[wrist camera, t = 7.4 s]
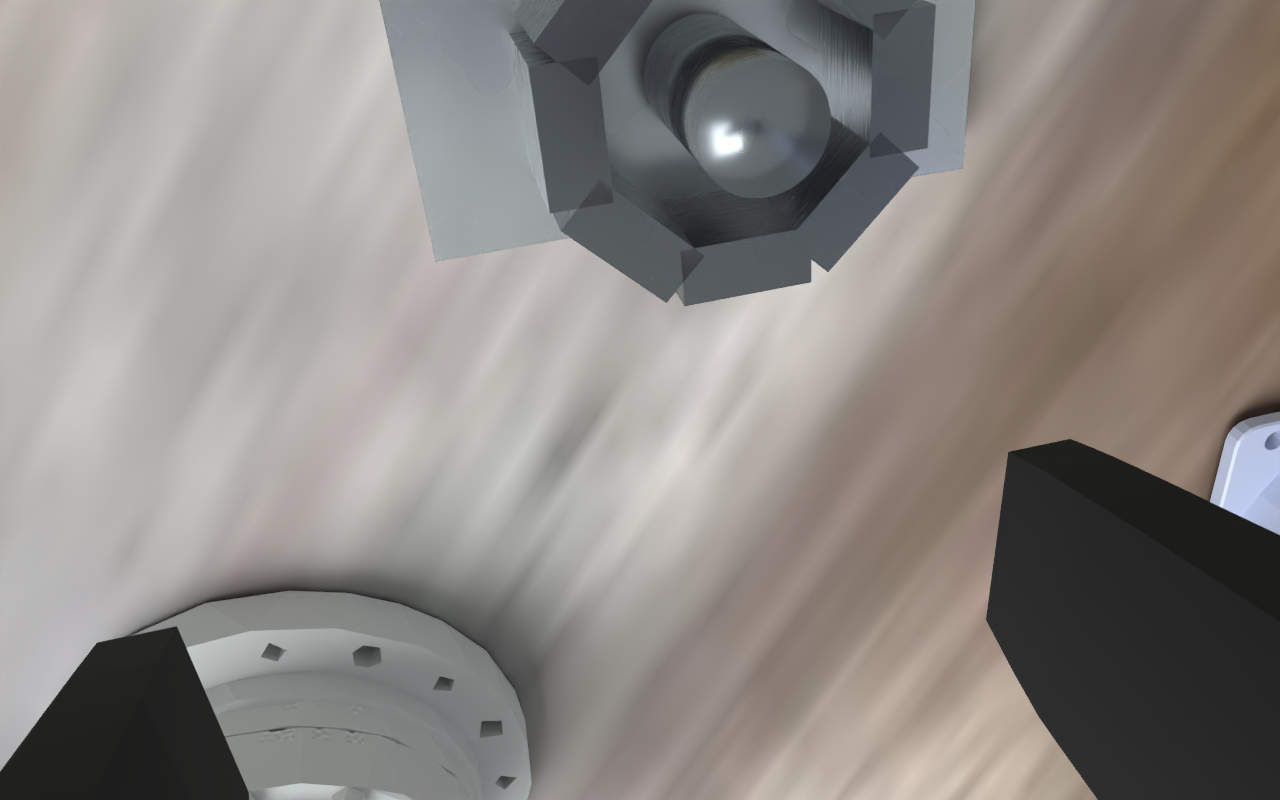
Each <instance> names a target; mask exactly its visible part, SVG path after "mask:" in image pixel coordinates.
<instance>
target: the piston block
mask: <svg viewBox="0 0 1280 800" xmlns="http://www.w3.org/2000/svg"><path fill="white" fill-rule="evenodd" d="M379 1H380V5H381V10H382V15H383V19H384V24H385V29H386V33H387V38H388V43H389V47H390V52H391V57H392V61H393V66H394V70H395V75H396V80H397V84H398V89H399V94H400V98H401V103H402V108H403V112H404V117H405V122H406V126H407V131H408V135H409V140H410V145H411V149H412V154H413V159H414V163H415V168H416V173H417V177H418V182H419V187H420V191H421V196H422V201H423V205H424V210H425V214H426V219H427V224H428V228H429V233H430V238H431V242H432V247H433V252H434V256H435V261H436V262H437V261H443V260H449V259H454V258H460V257H466V256H471V255H477V254H482V253H488V252H494V251H499V250H505V249H511V248H516V247H522V246H527V245H533V244H539V243H544V242H550V241H556V240H561V239H567V238H572V239H573V240H575V241H576V242H578V243H579V244H581V245H582V246H584V247H585V248H587V249H588V250H589V251H591V252H592V253H594V254H595V255H597V256H598V257H600V258H601V259H603V260H604V261H606V262H607V263H609V264H610V265H612V266H613V267H614V268H616V269H617V270H619V271H620V272H622V273H623V274H625V275H626V276H628V277H629V278H631V279H632V280H634V281H635V282H637V283H638V284H640V285H641V286H642V287H644V288H645V289H647V290H648V291H650V292H651V293H653V294H654V295H656V296H657V297H659V298H660V299H662V300H663V301H665V302H666V303H667V302H668V300H669V299H670V298H671V297H672V295H673V294H674V293H675V292H676V293H677V294H678V296H679V298H680V299H681V301H682V303H683V304H684V306H688V305H693V304H699V303H704V302H709V301H714V300H720V299H725V298H730V297H735V296H741V295H746V294H751V293H756V292H762V291H767V290H772V289H777V288H783V287H788V286H793V285H798V284H804V283H809V282H811V259H812V260H813V261H814V262H816V263H817V264H818V265H820V266H821V267H822V268H823V269H825V270H826V271H827V272H829V271H830V269H831V268H832V267H833V266H834V265H835V264H836V263H837V261H838V260H839V259H840V258H841V257H842V256H843V255H844V253H845V252H846V251H847V250H848V249H849V248H850V247H851V245H852V244H853V243H854V242H855V241H856V240H857V239H858V237H859V236H860V235H861V234H862V233H863V232H864V231H865V229H866V228H867V227H868V226H869V225H870V224H871V223H872V221H873V220H874V219H875V218H876V217H877V216H878V214H879V213H880V212H881V211H882V210H883V209H884V208H885V206H886V205H887V204H888V203H889V202H890V201H891V200H892V198H893V197H894V196H895V195H896V194H897V193H898V192H899V190H900V189H901V188H902V187H903V186H904V185H905V184H906V182H907V181H908V180H909V179H910V178H911V177H916V176H921V175H927V174H933V173H938V172H944V171H950V170H955V169H961V168H963V158H964V145H965V132H966V119H967V105H968V92H969V79H970V66H971V53H972V40H973V27H974V14H975V1H976V0H379Z"/></svg>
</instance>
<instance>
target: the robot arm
mask: <svg viewBox="0 0 1280 800" xmlns="http://www.w3.org/2000/svg"><path fill="white" fill-rule="evenodd" d="M986 620H987V622H988V624H989V626H990V628H991V630H992V632H993V634H994V636H995V638H996V639H997V641H998V643H999V645H1000V647H1001V649H1002V651H1003V653H1004V655H1005V657H1006V659H1007V660H1008V662H1009V664H1010V666H1011V668H1012V670H1013V672H1014V674H1015V675H1016V677H1017V679H1018V681H1019V683H1020V684H1021V686H1022V688H1023V690H1024V691H1025V693H1026V695H1027V697H1028V698H1029V700H1030V702H1031V704H1032V705H1033V707H1034V709H1035V711H1036V712H1037V714H1038V716H1039V718H1040V719H1041V720H1042V722H1043V723H1044V725H1045V726H1046V728H1047V729H1048V730H1049V732H1050V733H1051V735H1052V736H1053V738H1054V739H1055V740H1056V742H1057V743H1058V745H1059V746H1060V747H1061V749H1062V750H1063V752H1064V753H1065V754H1066V756H1067V757H1068V759H1069V760H1070V761H1071V763H1072V764H1073V766H1074V767H1075V768H1076V770H1077V771H1078V773H1079V774H1080V775H1081V777H1082V778H1083V780H1084V781H1085V782H1086V784H1087V785H1088V787H1089V788H1090V789H1091V791H1092V792H1093V794H1094V795H1095V796H1096V798H1097V799H1098V800H1280V412H1276V413H1271V414H1267V415H1262V416H1258V417H1253V418H1249V419H1246V420H1244V421H1241V422H1239V423H1238V424H1237V425H1235V426H1234V427H1233V428H1232V429H1231V431H1230V432H1229V433H1228V435H1227V438H1226V440H1225V444H1224V448H1223V452H1222V456H1221V460H1220V464H1219V468H1218V472H1217V476H1216V480H1215V484H1214V487H1213V491H1212V495H1211V499H1210V502H1209V501H1207V500H1205V499H1203V498H1201V497H1198V496H1196V495H1194V494H1192V493H1190V492H1188V491H1186V490H1184V489H1182V488H1179V487H1177V486H1175V485H1173V484H1171V483H1169V482H1167V481H1165V480H1163V479H1160V478H1158V477H1156V476H1154V475H1152V474H1150V473H1148V472H1145V471H1143V470H1141V469H1139V468H1137V467H1135V466H1133V465H1130V464H1128V463H1126V462H1124V461H1121V460H1119V459H1117V458H1115V457H1113V456H1110V455H1108V454H1106V453H1103V452H1101V451H1099V450H1096V449H1094V448H1092V447H1089V446H1087V445H1084V444H1082V443H1079V442H1077V441H1074V440H1071V439H1068V440H1063V441H1058V442H1054V443H1049V444H1044V445H1039V446H1035V447H1030V448H1025V449H1020V450H1016V451H1011V452H1008V459H1007V467H1006V474H1005V482H1004V489H1003V497H1002V504H1001V512H1000V519H999V527H998V534H997V542H996V549H995V557H994V564H993V572H992V580H991V587H990V595H989V602H988V610H987V617H986ZM0 800H249V792H248V789H247V787H246V785H245V782H244V780H243V778H242V775H241V773H240V771H239V769H238V766H237V764H236V762H235V759H234V757H233V755H232V752H231V750H230V748H229V745H228V743H227V741H226V738H225V736H224V734H223V732H222V729H221V727H220V725H219V722H218V720H217V718H216V715H215V713H214V711H213V708H212V706H211V704H210V701H209V699H208V697H207V695H206V692H205V690H204V688H203V685H202V683H201V681H200V678H199V676H198V674H197V671H196V669H195V667H194V664H193V662H192V660H191V658H190V655H189V653H188V651H187V648H186V646H185V644H184V641H183V639H182V637H181V634H180V632H179V630H178V627H177V626H175V627H170V628H166V629H161V630H156V631H151V632H146V633H142V634H137V635H132V636H127V637H123V638H118V639H113V640H108V641H104V642H99V643H97V644H96V645H95V646H94V647H93V649H92V650H91V651H90V653H89V654H88V655H87V656H86V658H85V659H84V660H83V662H82V663H81V664H80V666H79V667H78V668H77V669H76V671H75V672H74V673H73V675H72V676H71V677H70V679H69V680H68V681H67V683H66V684H65V685H64V687H63V688H62V689H61V691H60V692H59V693H58V695H57V696H56V697H55V699H54V700H53V701H52V703H51V704H50V705H49V707H48V708H47V709H46V711H45V712H44V713H43V715H42V716H41V717H40V719H39V720H38V721H37V723H36V724H35V726H34V727H33V728H32V730H31V731H30V732H29V734H28V735H27V736H26V738H25V739H24V740H23V742H22V743H21V744H20V746H19V747H18V748H17V750H16V751H15V752H14V754H13V755H12V757H11V758H10V759H9V761H8V762H7V763H6V765H5V766H4V767H3V769H2V770H1V771H0Z"/></svg>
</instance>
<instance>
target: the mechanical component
mask: <svg viewBox="0 0 1280 800" xmlns="http://www.w3.org/2000/svg"><path fill="white" fill-rule="evenodd" d="M175 626H177V627H178V630H179V632H180V634H181V637H182V639H183V641H184V644H185V646H186V648H187V651H188V653H189V655H190V658H191V660H192V662H193V664H194V667H195V669H196V671H197V674H198V676H199V678H200V681H201V683H202V685H203V688H204V690H205V692H206V695H207V697H208V699H209V701H210V704H211V706H212V708H213V711H214V713H215V715H216V718H217V720H218V722H219V725H220V727H221V729H222V732H223V734H224V736H225V738H226V741H227V743H228V745H229V748H230V750H231V752H232V755H233V757H234V759H235V762H236V764H237V766H238V769H239V771H240V773H241V775H242V778H243V780H244V782H245V785H246V787H247V789H248V792H249V800H527V798H528V795H529V791H530V788H531V785H532V780H531V770H530V760H529V751H528V741H527V732H526V722H525V718H524V715H523V712H522V709H521V706H520V703H519V700H518V697H517V694H516V691H515V690H514V688H513V687H512V686H511V684H510V683H509V681H508V680H507V679H506V677H505V676H504V675H503V673H502V672H501V670H500V669H499V668H498V666H497V665H496V664H495V662H494V661H493V659H492V658H491V657H490V655H489V654H488V653H487V651H486V650H484V649H483V648H481V647H480V646H478V645H477V644H476V643H474V642H473V641H471V640H470V639H468V638H467V637H465V636H464V635H462V634H461V633H459V632H458V631H456V630H455V629H453V628H452V627H451V626H449V625H448V624H446V623H445V622H443V621H441V620H439V619H436V618H434V617H431V616H429V615H426V614H424V613H421V612H419V611H416V610H414V609H411V608H409V607H407V606H404V605H402V604H399V603H394V602H389V601H384V600H380V599H375V598H370V597H365V596H360V595H356V594H351V593H336V592H309V591H283V592H277V593H270V594H263V595H256V596H249V597H243V598H236V599H229V600H222V601H215V602H208V603H204V604H202V605H200V606H197V607H195V608H193V609H191V610H188V611H186V612H184V613H181V614H179V615H177V616H174V617H172V618H170V619H167V620H165V621H163V622H161V623H158V624H156V625H154V626H151V627H149V628H147V629H144V630H142V631H140V632H138V633H135V634H133V635H137V634H142V633H146V632H151V631H156V630H161V629H166V628H170V627H175ZM131 636H132V635H131Z"/></svg>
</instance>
